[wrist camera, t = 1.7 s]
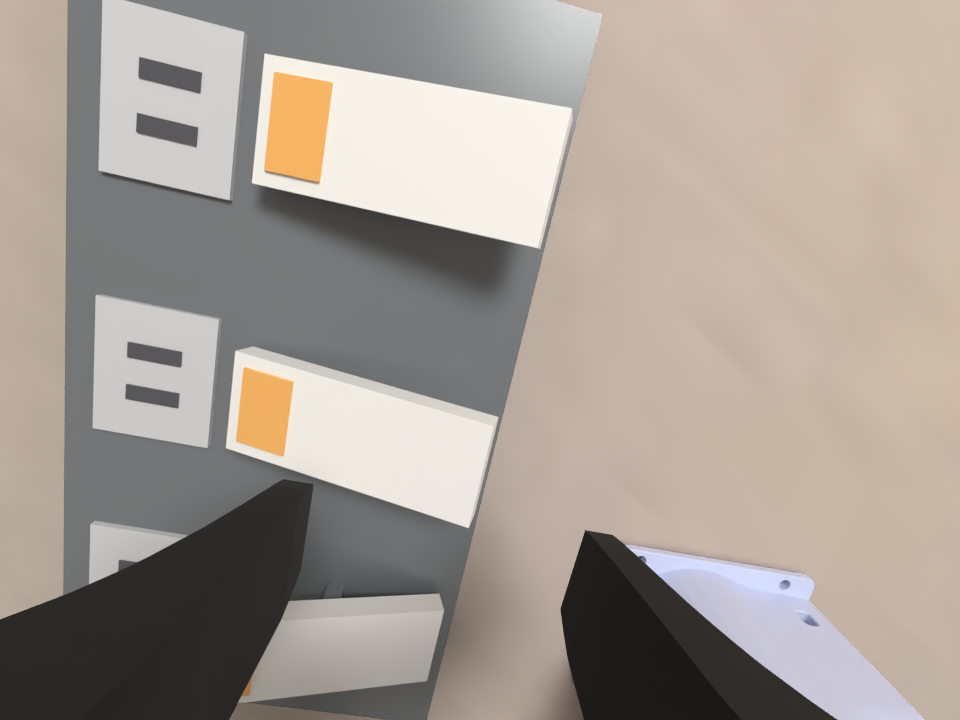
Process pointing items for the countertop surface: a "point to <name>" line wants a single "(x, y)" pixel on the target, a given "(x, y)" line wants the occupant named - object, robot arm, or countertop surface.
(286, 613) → the rocker
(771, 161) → the countertop surface
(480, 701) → the countertop surface
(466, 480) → the rocker middle
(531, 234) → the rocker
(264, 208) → the power strip
